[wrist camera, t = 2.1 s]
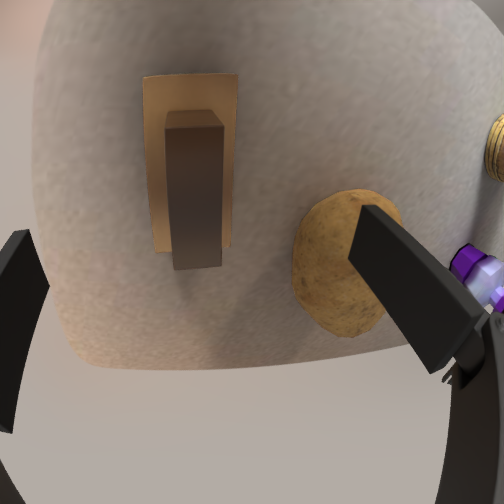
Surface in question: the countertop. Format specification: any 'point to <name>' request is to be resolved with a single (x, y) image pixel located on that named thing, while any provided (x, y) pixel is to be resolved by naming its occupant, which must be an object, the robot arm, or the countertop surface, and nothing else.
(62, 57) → the countertop surface
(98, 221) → the countertop surface
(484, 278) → the potion bottle
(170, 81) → the brush
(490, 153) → the wooden mug
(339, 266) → the potato
